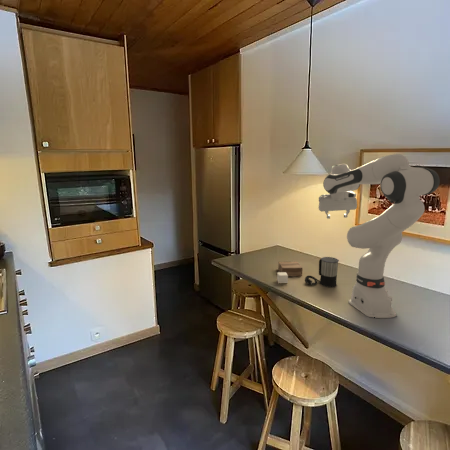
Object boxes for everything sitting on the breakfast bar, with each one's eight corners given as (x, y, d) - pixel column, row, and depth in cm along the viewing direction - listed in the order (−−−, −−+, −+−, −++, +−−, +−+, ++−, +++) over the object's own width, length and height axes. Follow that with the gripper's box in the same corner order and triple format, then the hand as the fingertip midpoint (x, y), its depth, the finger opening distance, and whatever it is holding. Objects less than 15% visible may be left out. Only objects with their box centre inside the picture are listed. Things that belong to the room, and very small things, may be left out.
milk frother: (340, 285, 175) (342, 260, 172) (320, 291, 167) (322, 265, 164) (320, 277, 187) (322, 253, 184) (301, 282, 179) (302, 257, 176)
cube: (287, 283, 178) (287, 275, 177) (278, 283, 178) (279, 275, 177) (285, 280, 183) (285, 272, 182) (277, 280, 183) (277, 272, 182)
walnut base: (302, 275, 190) (302, 267, 189) (282, 276, 189) (282, 268, 188) (296, 268, 201) (297, 261, 200) (278, 269, 201) (278, 261, 200)
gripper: (320, 196, 169) (319, 220, 173) (359, 193, 168) (357, 218, 173) (317, 193, 175) (316, 217, 179) (354, 191, 174) (353, 215, 178)
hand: (336, 217), depth 176 cm, fingers open, 8 cm apart
